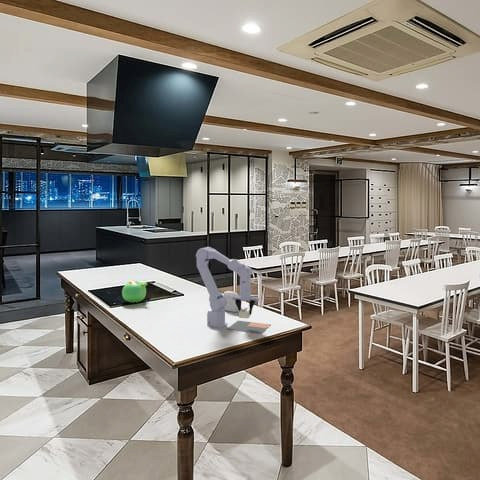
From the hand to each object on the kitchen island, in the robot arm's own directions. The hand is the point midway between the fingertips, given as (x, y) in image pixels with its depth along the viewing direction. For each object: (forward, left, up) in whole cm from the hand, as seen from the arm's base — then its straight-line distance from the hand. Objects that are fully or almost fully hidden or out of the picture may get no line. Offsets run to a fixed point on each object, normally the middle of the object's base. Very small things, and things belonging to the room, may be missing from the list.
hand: (245, 313), depth 215 cm
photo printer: (-21, +30, -9) cm, 37 cm away
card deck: (0, 0, -1) cm, 1 cm away
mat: (+1, +3, -8) cm, 9 cm away
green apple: (-89, +25, -9) cm, 93 cm away
